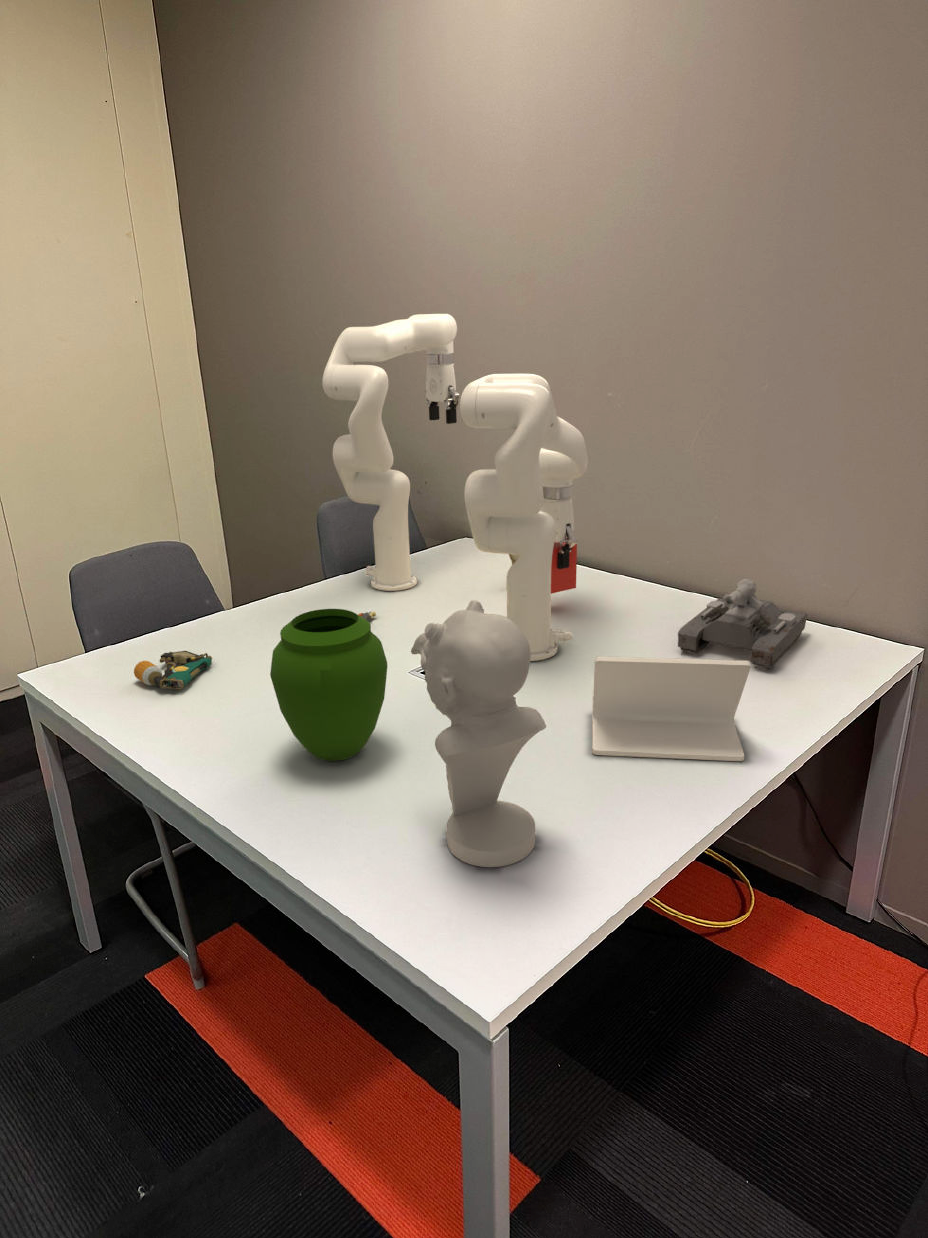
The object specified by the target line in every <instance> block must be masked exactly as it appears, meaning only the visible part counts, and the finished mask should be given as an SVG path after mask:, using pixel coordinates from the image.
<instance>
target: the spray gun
mask: <svg viewBox="0 0 928 1238" xmlns="http://www.w3.org/2000/svg"><path fill="white" fill-rule="evenodd" d="M212 660H213V657H212V656H211V655H208V653H207V652H205V653H201V654H197V653H194V652H192V651H191V652H190V651H188V650H180V651H169V652H164V653H162V654H161V655H160V658H159V660H158V662H159V663H161V664H163V663H165V664H166V668H165V670H163V672H164V674H163V673H162V669H160V668H159V666H157V665H156V664H154V663H152V662H151V661H149V660H141V661H139V662H138V663H136V665H135V666H134V668H133V675H134V677H135V678H136V679H137V680H139V681H140V682H142V683H143V684H145V685H147V686H155V685H157V686H158V687H160V688H161V689H171V690H172V689H173V690H182V689H184V687H185V686H186V685H188V684H189V683H190V682H191V681H192V679H193V678H195V677H196V676H197V675H198V674H200V673H201V672H202V671H203V670H206V669H208V668H209V667H210V666H211V665H212V662H213V661H212ZM178 663H179V664H181V665H179V666H176V665H177V664H178Z"/></svg>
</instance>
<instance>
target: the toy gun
mask: <svg viewBox="0 0 928 1238" xmlns="http://www.w3.org/2000/svg"><path fill="white" fill-rule="evenodd" d="M357 615H359V616H361V617H363V618H365V619H366V620H367V621H369V622H370V620H371V619H373V618H374V617H377V612H376V611H369V612H368V611H366V612H359V613H358V614H357Z"/></svg>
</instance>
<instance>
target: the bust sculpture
mask: <svg viewBox="0 0 928 1238" xmlns="http://www.w3.org/2000/svg"><path fill="white" fill-rule="evenodd" d="M530 653H531V652H530V646H529V643H528V640H527V638H526V636H525V634H524V633H523V632H522V630H521V629H520V628H519V627H518V626H517V625H516V624H515V623H514V622H513V621H512V620H511V619H509V618H507V616H504V615H503V614H502V615H501V614H496V613H485V609H484V607H483V605H482V603H481V602H480V601H478V600H473V599H472V600H470V601H469V603H468V605H467V607H466V609H460V610H457V611H455V612H453V613H451V615H449V616H448V617H447V618H446V619H445V620H444V622H442V624H441V623H435V622H430V623H428V624H427V625H426V626H425V628H424V632H423V633H421V634H419V635H418V636H417V637H416V638H415V640H414V642H413V645H412V647H411V649H410V654H412V655H420V667H421V669H422V670H423V672H424V681H425V682H426V690H427V693H428V696H429V698H430V701H431V702H432V704H434V706H435V708H436V710H438V711H439V712H440V713H441V714H442V716H446V717H447V718H448V719H449V720H450V726H448V727H446V728H445V729H443V730H442V731H441V732H440V733H439V734H438V735H436V738H435V741H434V748H435V749H436V752H437V753H438V755H439V757H440V758H441V760H442V761H443V762H444V763H445V771H446V781H447V790H448V796H449V800H450V803H451V810H452V813H451V814H450V815H449V817H448V819H447V822H446V844H447V847H448V849H449V851H450V852H451V854H452V855H453V856H454V857H456V858H457V859H459V860H460V861H462V862H463V863H466V864H469V865H471V866H476V867H483V868H498V867H505V866H509V865H512V864H517V862H520V861H521V860H523V859H525V858H527V856H528V855H530V854H531V852H532V851H533V849H535V848H534V847H535V845H536V822H535V821H536V820H535V819H534V817H533V816H532V814H531V813H530V812H529V811H528V810H526V809H525V808H524V807H522V806H520V805H517V804H515V803H513V802H509V801H504V800H499V796H500V793H501V790H502V788H503V785H504V783H505V780H506V778H507V776H508V773H509V771H510V769H511V768H512V765H513V763H514V761H515V760H516V759H517V756H518V755H519V753H520V752H521V750H522V749H523V748H524V747H525V745H526V744H527V743H528V742H529V741H530V740H531V739H532V738H533V737H535V735H537V734H538V733H539V732H541V731H544V730H545V729H546V728H547V725H546V723H545V720H544V718H543V717H542V714H541V713H540V712H539V711H538V710H537V709H535V708H533V707H530V706H518V705H517V701H516V699H517V698H516V696H515V695H516V694H517V693H519V691H521V689H522V688H523V686H524V684H525V683H526V680H527V678H528V675H529V669H530V666H531V661H530V656H531V655H530Z"/></svg>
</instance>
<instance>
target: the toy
mask: <svg viewBox="0 0 928 1238" xmlns="http://www.w3.org/2000/svg"><path fill="white" fill-rule="evenodd" d="M757 590H758V589H757V584H756V583H755V582H754V580H752V579H750V578H743V579H741V580H740V581H738V582H737V585H736V588H735V589H734V590H733V591H732V592H730V593H725V594H724V596H723V597H722V598H720V597H719V598H717V599H716V600H711V601H710V602H709V603H707V604H706V607H705V608H704V609H703V610H701V612H699V613H698V614H697V615H696V616H694V617H692V619H690V620H688V622H686V623H685V624H684V625H682V626H681V627H680V629H679V630H678V632H677V647H679V649H680V650H681V651H683V652H688V653H693V654H699V653H700V652H701V651H703V650H704V649H705V648H706V647H707V646H708V645H710V644H713V645H718V646H724V647H728V648H734V649H738V650H743V651H748V652H750V661H749V662H750V663H752V665H755V666H759V667H764V668H769V669H772V668H773V667H774V665H776V664H777V662H778V661H779V660H781V658H782V657H783V656H784V655H785V654H786V652H788V651H789V650H790V648H791V647H792V646H793V645H794V644H795V643H797V640H799V638H801V635H802V633H803V631H804V630H805V628H806V624H807V619H808V613H803V612H799V611H793V610H786V611H785V612H783V611H781V610H780V608H778V606H777V605H775V603H774V602H773V601H772V600H765V599H759V598H758V596H756V595H755V594H756V592H757Z"/></svg>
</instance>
